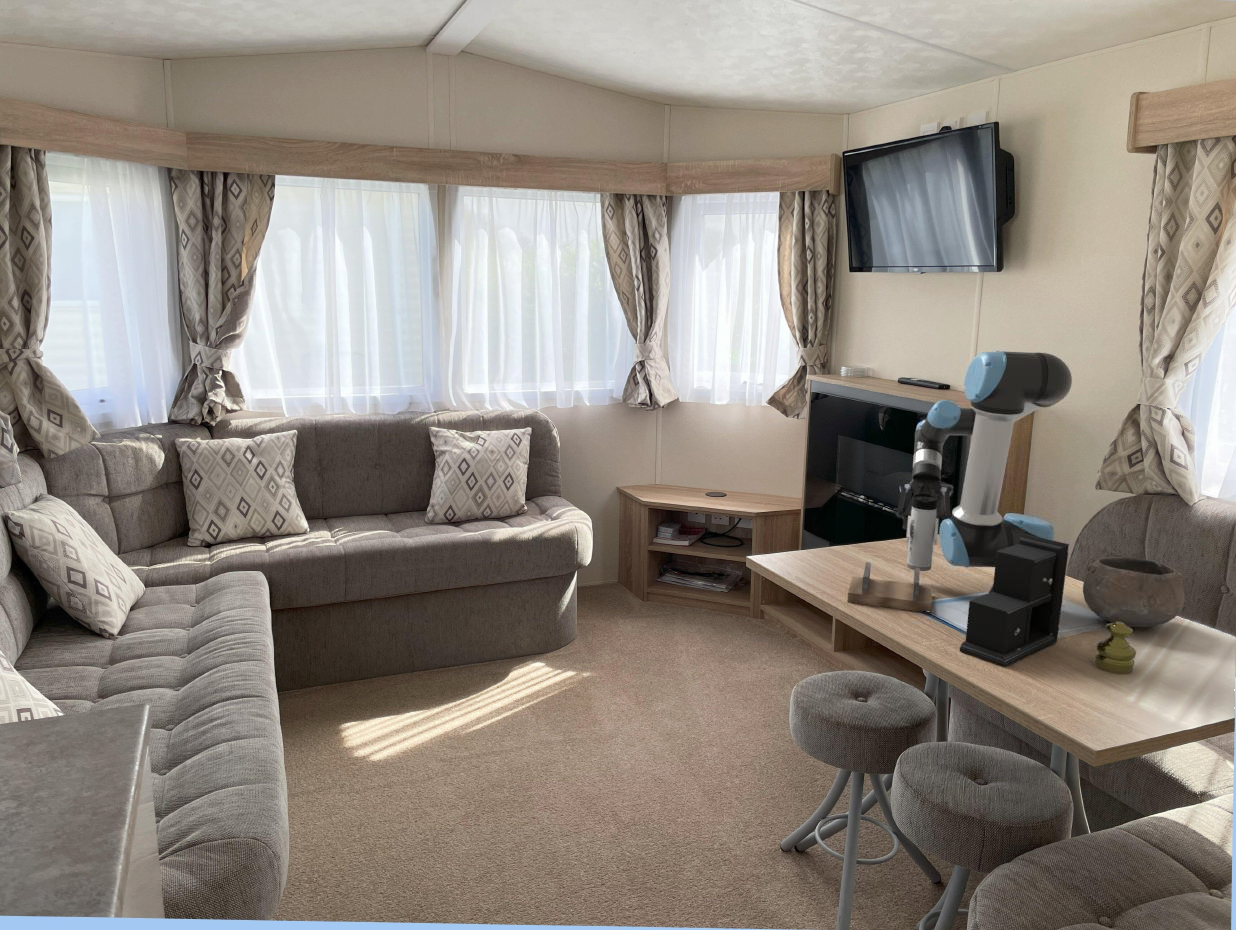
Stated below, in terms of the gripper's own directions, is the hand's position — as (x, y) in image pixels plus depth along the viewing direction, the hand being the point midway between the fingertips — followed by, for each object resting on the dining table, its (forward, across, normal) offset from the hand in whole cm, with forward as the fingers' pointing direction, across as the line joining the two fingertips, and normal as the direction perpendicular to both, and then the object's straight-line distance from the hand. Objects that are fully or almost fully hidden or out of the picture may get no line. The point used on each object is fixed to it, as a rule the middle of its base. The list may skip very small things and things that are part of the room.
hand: (921, 540), depth 238 cm
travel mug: (+4, 0, -9) cm, 9 cm away
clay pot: (+16, -49, -4) cm, 51 cm away
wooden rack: (+18, +7, 0) cm, 19 cm away
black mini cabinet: (+35, -20, +16) cm, 43 cm away
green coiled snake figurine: (+38, -40, +18) cm, 58 cm away
